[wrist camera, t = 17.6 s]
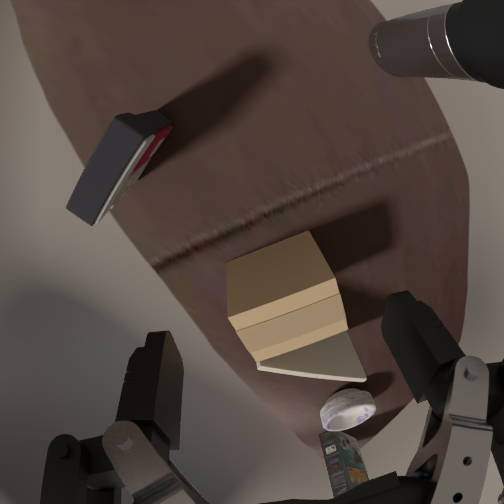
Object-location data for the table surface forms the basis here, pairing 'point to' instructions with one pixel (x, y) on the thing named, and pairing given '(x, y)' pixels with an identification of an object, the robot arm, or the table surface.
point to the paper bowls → (347, 409)
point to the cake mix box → (342, 461)
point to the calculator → (117, 163)
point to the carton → (283, 297)
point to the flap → (319, 360)
